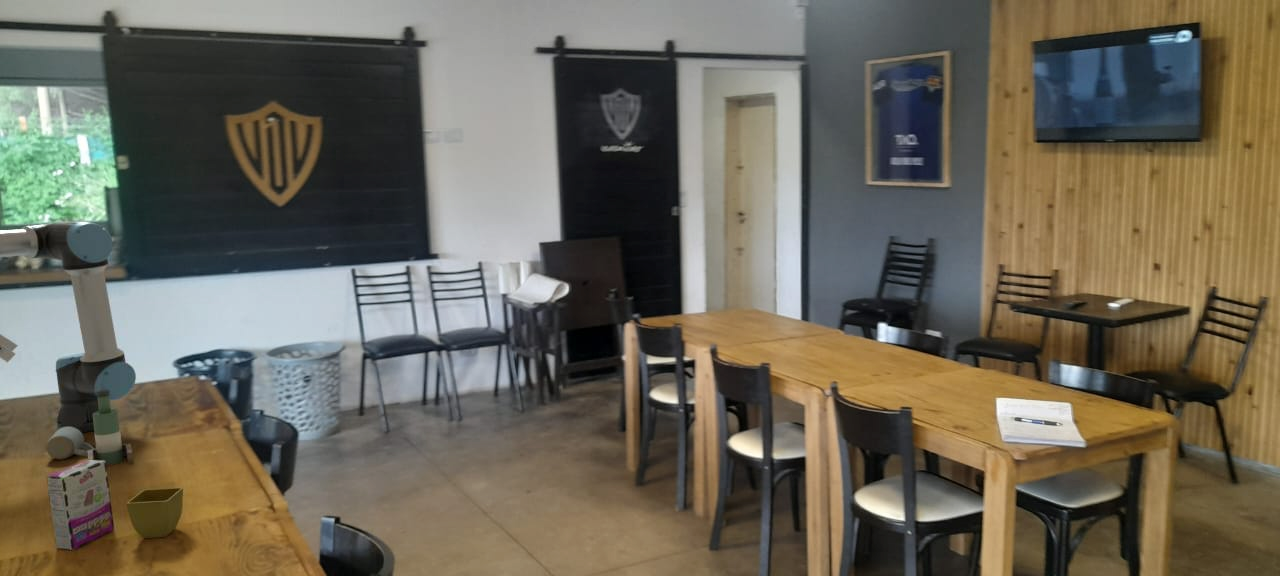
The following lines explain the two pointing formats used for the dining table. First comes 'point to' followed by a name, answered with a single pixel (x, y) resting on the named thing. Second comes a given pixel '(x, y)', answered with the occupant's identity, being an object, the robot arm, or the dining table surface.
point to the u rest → (125, 451)
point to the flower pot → (156, 511)
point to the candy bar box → (80, 504)
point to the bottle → (107, 430)
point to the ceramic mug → (67, 443)
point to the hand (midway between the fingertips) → (13, 353)
